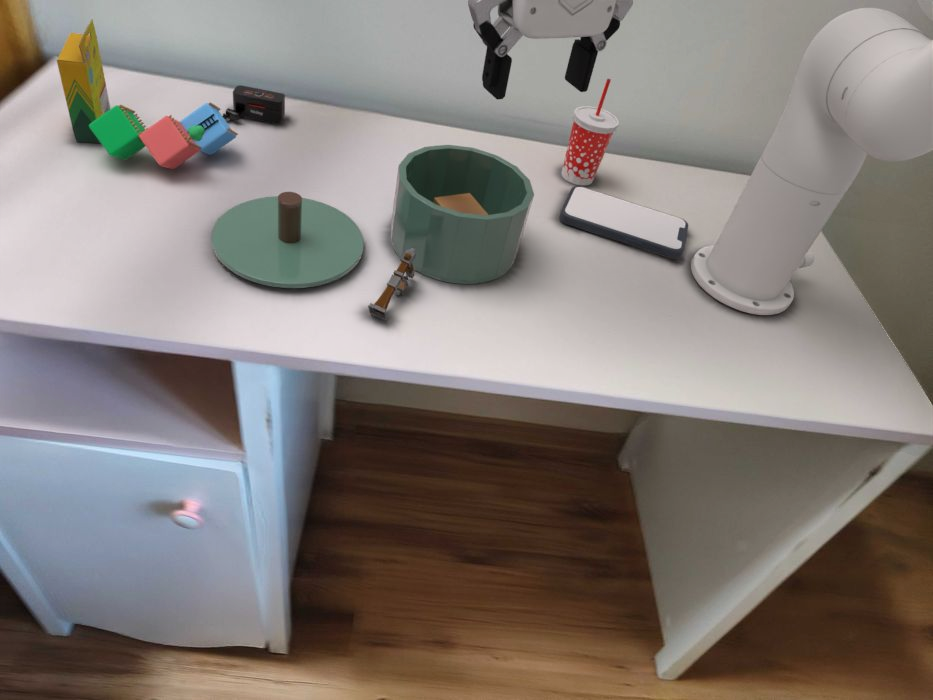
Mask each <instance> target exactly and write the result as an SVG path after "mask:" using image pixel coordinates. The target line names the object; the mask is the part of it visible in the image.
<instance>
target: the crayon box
mask: <svg viewBox="0 0 933 700" xmlns="http://www.w3.org/2000/svg"><path fill="white" fill-rule="evenodd" d="M95 28H96V27H95V24H94V19H90V21H89V23H88V25H87V26H86V28H85V30H84V32H83V33H77V32H76V33H75V32H70V33H69V35H68V37H67V39H66V41H65V43H64V45H63V47H62V48H61V51H60V53H59V55H58V57H57V59H56V63H57V68H58V73H59V76H60V77H59V78H60V81H61V85H62V90H63V93H64V99H65V101H66V106H67V110H68V115H69V120H70V123H71V127H72V132H73V136H74V139H75V141H76V142H78V143H92V144H94V143H95V144H101V143H100V141H99V140H98V138H97V137H96V136H95V134H94V133H93V132H92V130H91V129H90V127H89V124H90V123H92V122H93V121H95V120H96V119H97V118H99V117H100V116H102V115H103V114H104V113H106V112H107V111H109V110H110V109H111V104H110V99H109V94H108V88H107V82H106V78H105V72H104V68H103V62H102V57H101V52H100V46H99V42H98V36H97V34H96V29H95Z"/></svg>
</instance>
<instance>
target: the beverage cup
mask: <svg viewBox="0 0 933 700" xmlns="http://www.w3.org/2000/svg"><path fill="white" fill-rule="evenodd" d="M610 83H611V78H607V79H606V81H605V85H604V88H603V90H602V93H601V96H600V99H599V102H598V106H592V105H581V106H577V107H576V108H575V109H574V112H573V115H572V119H573V123H572V127H571V131H570V135H569V138H568V143H567V148H566V151H565V156H564V160H563V164H562V168H561V172H560V175H561V177H562V178H563V179H564V180H565V181H567V182H569V183H570V184H572V185H575V186H581V187H585V186H590V185H591V184H592V183H593V182H594V179H595V177H596V175H597V173H598V170H599V168H600V165H601V163H602V160H603V158H604V156H605V154H606V151H607V149H608V146H609V144H610V142H611V139H612V137H613V134H614V133H615V132H616V131H617V129H618V128H619V124H620V120H619V119H618V117H617V116H616V115H615V114H613V113H612V112H610V111H608V110H606V109H604V108H603V104H604V102H605V99H606V95H607V92H608V90H609V86H610Z"/></svg>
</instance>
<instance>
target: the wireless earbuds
mask: <svg viewBox="0 0 933 700" xmlns="http://www.w3.org/2000/svg"><path fill="white" fill-rule="evenodd" d="M232 106H233V107H232V108H233V109H232V108H230V107H228V108H226V110H225V112H223V113H222V116H223V118H224V119H225V121H226V120H232V121H236V122H237V121H239V120H241V119H242V118H245V119H251V120H254V121H255V120H257V121H261V122H266V123H271V124H276V125H279V124H281V123H282V121H283V120H284V118H285V116H286V115H285V114H286V95H285V94H284V93H282V92H277V91H271V90H267V89H261V88H257V87H251V86H246V85H236V86H235V87H234V89H233V90H232Z"/></svg>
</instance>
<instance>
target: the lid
mask: <svg viewBox="0 0 933 700" xmlns="http://www.w3.org/2000/svg"><path fill="white" fill-rule="evenodd" d="M364 246H365V245H364V237H363V234H362V231H361V229H360V228H359V226H358V225H357V223H356V222H355V221H354V220H353V219H352V218H351V217H349V216H348V215H347V214H345V213H344V212H343V211H341V210H339V209H338V208H336V207H333V206H332V205H330V204H327V203H324V202H321V201H319V200H315V199H310V198H305V197H302V196H301V194H299V193H297V192H296V191H295V192H294V191H283V192H281V193H278V195H275V196H265V197H259V198H254V199H250V200H247V201H244V202H242V203H239V204H237V205H235V206H233V207H231V208H230V209H228V210H226V211H225V212H224V213H223V214H221V216H220V217H219V218H218V219H217V220H216V222H215V223H214V225H213V228H212V231H211V247H212V250H213V252H214V254H215V255H216V257H217V259H218V261H220V263H221V264H222V265H223V266H224V267H225V268H227V270H230V272H232V273H234V274H235V275H237V276H238V277H241V278H242V279H245V280H248V281H250V282H252V283H256V284H259V285H262V286H268V287H274V288H281V289H305V288H313V287H318V286H323V285H326V284H329V283H332V282H334V281H337V280H339V279H341V278H342V277H344V276H347V275H348V274H349V273H350V272H352V271H353V270H354V268H355V267H356V266H357V265H358V264H359V262H360V261H361V259H362V256H363V253H364Z"/></svg>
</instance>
